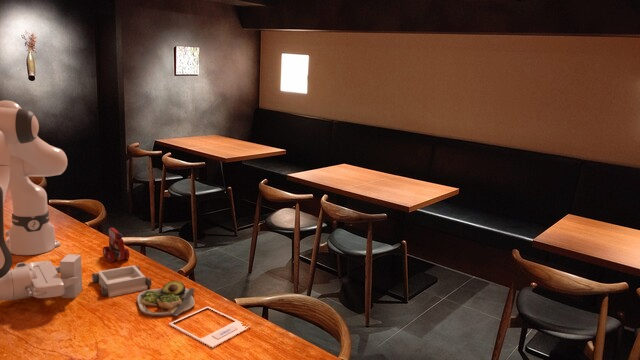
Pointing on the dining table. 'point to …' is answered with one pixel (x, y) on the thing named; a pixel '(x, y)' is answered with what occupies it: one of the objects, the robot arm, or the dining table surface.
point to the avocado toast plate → (167, 299)
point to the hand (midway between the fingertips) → (74, 273)
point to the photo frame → (218, 335)
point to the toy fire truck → (115, 247)
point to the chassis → (121, 280)
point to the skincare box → (71, 274)
